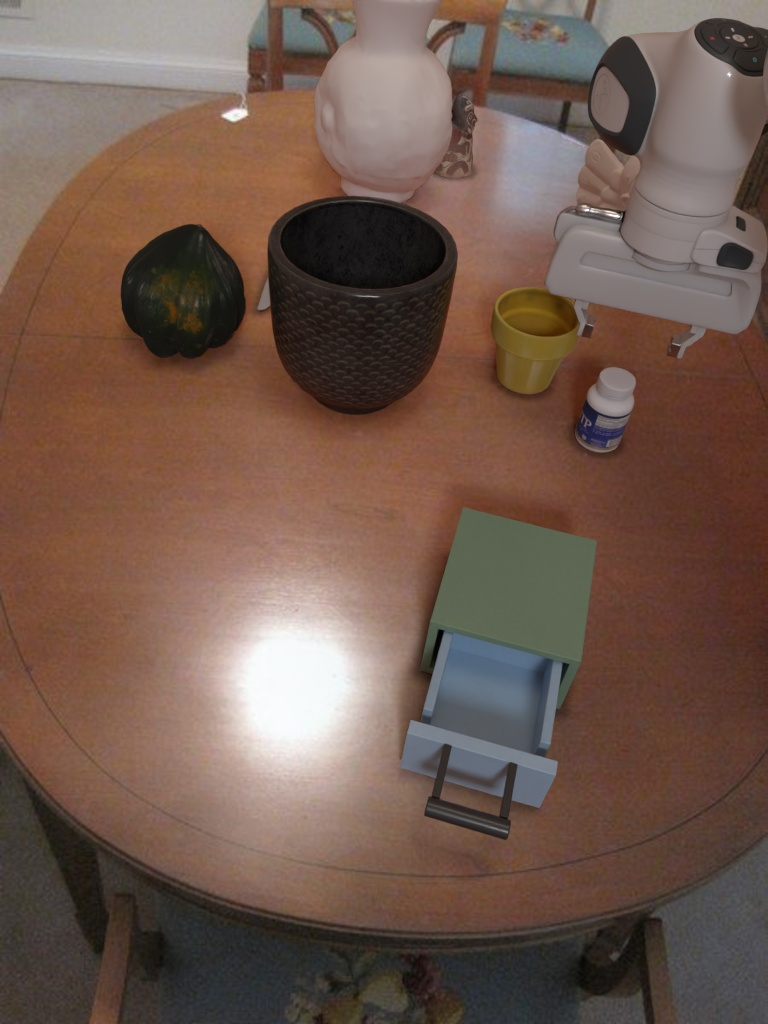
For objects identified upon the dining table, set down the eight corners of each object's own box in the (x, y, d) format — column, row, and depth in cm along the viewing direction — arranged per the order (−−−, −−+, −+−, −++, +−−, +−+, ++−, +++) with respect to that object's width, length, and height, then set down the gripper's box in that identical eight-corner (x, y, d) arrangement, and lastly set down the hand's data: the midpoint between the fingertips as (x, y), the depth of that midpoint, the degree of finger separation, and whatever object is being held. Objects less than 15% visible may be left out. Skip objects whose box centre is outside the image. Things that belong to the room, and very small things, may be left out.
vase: (358, 237, 125) (373, 10, 103) (293, 171, 137) (294, -45, 115) (464, 213, 133) (499, -3, 111) (393, 153, 145) (413, -54, 123)
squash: (83, 330, 97) (164, 244, 89) (112, 262, 107) (186, 181, 100) (186, 402, 104) (268, 328, 97) (203, 332, 115) (279, 261, 107)
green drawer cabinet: (559, 709, 75) (581, 661, 69) (419, 670, 76) (430, 621, 71) (577, 591, 84) (597, 540, 79) (451, 558, 86) (462, 506, 80)
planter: (307, 460, 93) (310, 311, 79) (246, 355, 105) (240, 208, 91) (465, 419, 100) (494, 275, 86) (392, 324, 112) (407, 183, 98)
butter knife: (307, 218, 127) (287, 215, 127) (272, 310, 111) (249, 306, 111) (307, 221, 127) (287, 218, 127) (272, 313, 111) (249, 309, 111)
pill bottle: (571, 421, 101) (590, 360, 95) (615, 425, 102) (637, 364, 95) (576, 452, 98) (597, 391, 91) (622, 456, 98) (646, 395, 91)
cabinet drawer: (528, 879, 64) (547, 846, 59) (380, 835, 65) (387, 799, 61) (559, 677, 76) (576, 637, 72) (434, 643, 77) (443, 601, 73)
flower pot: (464, 379, 105) (477, 311, 98) (508, 341, 111) (523, 275, 104) (537, 417, 101) (556, 349, 94) (578, 376, 107) (599, 310, 100)
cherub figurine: (593, 310, 118) (636, 168, 103) (552, 261, 125) (587, 123, 111) (675, 299, 121) (728, 160, 106) (630, 252, 129) (674, 117, 114)
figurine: (462, 182, 140) (474, 107, 131) (422, 170, 141) (431, 95, 132) (478, 165, 144) (490, 91, 135) (439, 154, 146) (448, 80, 137)
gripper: (557, 214, 79) (526, 338, 89) (784, 262, 76) (725, 384, 87) (565, 183, 83) (534, 305, 93) (781, 228, 81) (725, 348, 91)
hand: (628, 343), depth 90 cm, fingers open, 8 cm apart
